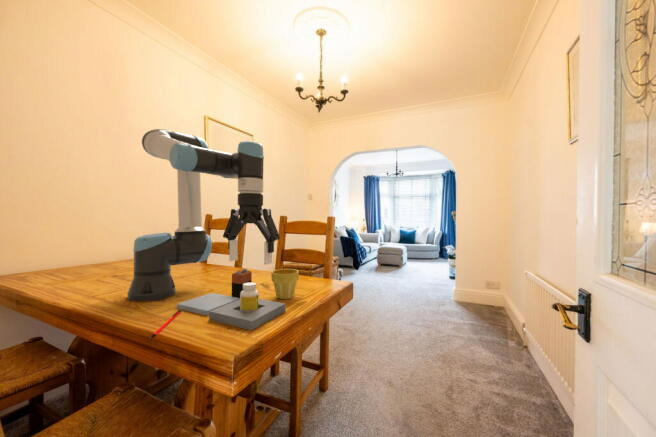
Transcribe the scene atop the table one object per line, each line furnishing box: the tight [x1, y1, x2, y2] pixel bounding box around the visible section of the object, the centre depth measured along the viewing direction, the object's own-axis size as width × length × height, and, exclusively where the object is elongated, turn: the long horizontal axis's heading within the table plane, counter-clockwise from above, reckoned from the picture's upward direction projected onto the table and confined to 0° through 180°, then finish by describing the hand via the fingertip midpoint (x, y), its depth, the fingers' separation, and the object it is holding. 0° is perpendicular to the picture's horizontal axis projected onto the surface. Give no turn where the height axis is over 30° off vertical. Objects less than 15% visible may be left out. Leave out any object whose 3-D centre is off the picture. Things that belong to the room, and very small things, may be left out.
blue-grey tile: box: [176, 292, 240, 317], centre depth 90 cm, size 14×14×2 cm
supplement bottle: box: [240, 282, 259, 313], centre depth 81 cm, size 5×5×10 cm
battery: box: [231, 268, 253, 298], centre depth 101 cm, size 4×7×10 cm, turn 159°
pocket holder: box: [208, 298, 286, 331], centre depth 81 cm, size 16×16×2 cm
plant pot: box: [270, 268, 300, 300], centre depth 101 cm, size 10×10×10 cm
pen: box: [150, 310, 182, 340], centre depth 74 cm, size 1×19×1 cm, turn 10°
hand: (250, 262), depth 81 cm, fingers open, 13 cm apart
